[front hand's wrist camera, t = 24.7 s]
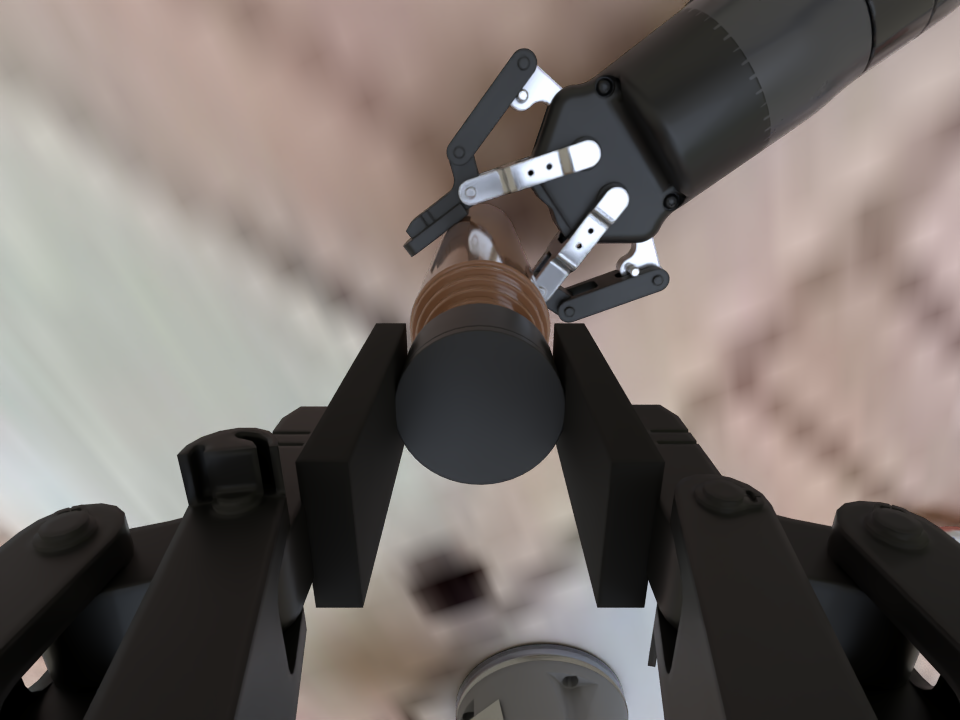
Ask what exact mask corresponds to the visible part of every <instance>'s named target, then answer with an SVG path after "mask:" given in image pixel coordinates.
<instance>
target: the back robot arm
mask: <svg viewBox="0 0 960 720" xmlns="http://www.w3.org/2000/svg"><path fill="white" fill-rule="evenodd" d="M958 6H960V0H690V1H689V2H688V3H687V4H686V6H685V7H684V8H683V9H682V10H680V11H679V12H678V13H676V14H675V15H674V16H673V17H671V18H670V19H669V20H667V21H666V22H665V23H664V24H662V25H661V26H660V27H658V28H657V29H656V30H655V31H653V32H652V33H651V34H649V35H648V36H647V37H646V38H644V39H643V40H642V41H640V42H639V43H638V44H636V45H635V46H634V47H633V48H631V49H630V50H629V51H627V52H626V53H625V54H624V55H622V56H621V57H620V58H618V59H617V60H616V61H615V62H613V63H612V64H611V65H609V66H608V67H607V68H606V69H604V70H603V71H602V72H600V73H599V74H598V75H597V76H595V77H594V78H593V79H591V80H590V81H588V82H586V83H583V84H578V85H570V86H567V87H565V88H562V87H561V86H560V85H558V84H557V83H556V82H555V81H554V80H553V79H552V78H551V77H550V76H549V75H548V74H546V73H545V72H544V71H543V70H542V69H541V68H540V67H539V66H538V65H537V59H536V56H535V54H534V53H533V52H532V51H531V50H529V49H526V48H523V49H519V50H517V51H516V52H515V53H514V54H513V55H512V57H511V58H510V60H509V61H508V62H507V64H506V65H505V67H504V68H503V69H502V71H501V72H500V74H499V75H498V76H497V78H496V79H495V81H494V82H493V83H492V85H491V86H490V88H489V89H488V90H487V92H486V93H485V95H484V96H483V97H482V99H481V100H480V102H479V103H478V104H477V106H476V107H475V109H474V110H473V111H472V113H471V114H470V116H469V117H468V118H467V120H466V121H465V123H464V124H463V125H462V127H461V128H460V130H459V131H458V132H457V134H456V135H455V137H454V138H453V139H452V141H451V142H450V144H449V145H448V147H447V157H448V159H449V162H450V165H451V169H452V172H453V176H454V185H453V188H452V189H451V190H450V191H449V192H448V193H447V194H446V195H444V196H443V197H442V198H440V199H439V200H438V201H436V202H435V203H434V204H433V205H431V206H430V207H429V208H427V209H426V210H425V211H424V212H422V213H421V214H420V215H418V216H417V217H416V218H414V220H413V221H412V222H411V223H410V225H409V227H408V229H407V230H406V232H407V233H408V234H409V236H410V237H411V238H410V239H409V240H408V241H407V242H406V243H405V244H404V248H405V249H406V250H407V252H408V253H409V254H410V255H411V257H412V256H414V255H416V254H417V253H418V252H420V251H421V250H422V249H424V248H425V247H426V246H428V245H429V244H430V243H432V242H433V241H434V240H436V239H437V238H438V237H439V236H441V235H442V234H443V233H445V232H446V231H447V230H449V229H450V228H451V227H452V226H454V225H455V224H457V223H458V222H459V221H461V220H462V219H463V218H465V217H466V216H467V215H469V208H471V207H472V206H473V205H475V204H478V203H481V202H484V201H487V200H490V199H493V198H496V197H499V196H502V195H505V194H509V193H514V192H517V191H520V190H523V189H526V188H529V187H531V188H532V190H533V191H534V193H535V194H536V196H537V197H538V198H540V199H541V200H542V201H543V202H544V203H545V204H547V205H548V207H549V210H550V213H551V216H552V219H553V221H554V223H555V224H556V226H557V227H558V229H559V232H558V233H557V234H556V236H555V237H554V238H553V240H552V241H551V242H550V244H549V245H548V248H547V250H546V252H545V253H544V254H543V256H542V257H541V258H540V260H539V261H538V262H537V264H536V265H535V266H534V268H533V269H532V272H533V274H534V276H535V279H536V281H537V283H538V286H539V288H540V291H541V293H542V295H543V298H544V300H545V303H546V305H547V308H548V309H550V310H551V311H553V312H554V313H556V314H557V315H559V317H560V319H561V320H562V321H564V322H568V323H569V322H574V321H577V320H579V319H582V318H585V317H588V316H591V315H594V314H597V313H599V312H602V311H605V310H608V309H611V308H614V307H616V306H619V305H622V304H625V303H628V302H631V301H633V300H636V299H639V298H642V297H645V296H648V295H650V294H653V293H656V292H659V291H661V290H663V289H665V288H666V287H667V285H668V283H669V275H668V273H667V272H666V271H665V270H663V268H662V267H661V266H660V263H659V259H658V255H657V251H656V248H655V244H654V240H653V237H654V236H655V235H656V233H657V232H658V231H659V229H660V227H661V225H662V224H663V222H664V221H665V219H666V218H667V217H668V216H669V215H670V214H671V213H672V212H673V211H675V210H676V209H678V208H679V207H681V206H682V205H684V204H685V203H687V202H688V201H690V200H691V199H693V198H694V197H695V196H697V195H698V194H700V193H701V192H703V191H704V190H706V189H707V188H708V187H710V186H711V185H713V184H714V183H716V182H717V181H719V180H720V179H722V178H723V177H724V176H726V175H727V174H729V173H730V172H732V171H733V170H735V169H736V168H737V167H739V166H740V165H742V164H743V163H745V162H746V161H748V160H749V159H751V158H752V157H754V156H755V155H756V154H758V153H759V152H761V151H762V150H764V149H765V148H766V147H768V146H769V145H771V144H772V143H774V142H775V141H777V140H778V139H780V138H781V137H783V136H784V135H785V134H787V133H788V132H790V131H791V130H793V129H794V128H796V127H797V126H798V125H800V124H801V123H803V122H804V121H806V120H807V119H808V118H810V117H811V116H812V115H814V114H815V113H816V112H818V111H819V110H820V109H821V108H822V107H824V106H825V105H826V104H827V103H828V102H829V101H830V100H832V99H833V98H834V97H835V96H836V95H837V94H838V93H839V92H841V91H842V90H843V89H844V88H845V87H846V86H848V85H849V84H850V83H852V82H853V81H854V80H856V79H857V78H859V77H860V76H861V75H863V74H864V73H866V72H867V71H869V70H870V69H872V68H873V67H874V66H876V65H877V64H879V63H880V62H882V61H883V60H885V59H886V58H888V57H889V56H890V55H892V54H893V53H895V52H896V51H898V50H899V49H901V48H902V47H903V46H905V45H906V44H908V43H909V42H911V41H912V40H913V39H915V38H916V37H918V36H919V35H921V34H922V33H923V32H925V31H926V30H928V29H929V28H931V27H932V26H934V25H935V24H936V23H938V22H939V21H941V20H942V19H943V18H945V17H946V16H947V15H949V14H950V13H951V12H953V11H954V10H955V9H956V8H957V7H958ZM535 103H544V104H546V105H547V109H546V112H545V115H544V118H543V121H542V124H541V127H540V130H539V133H538V136H537V139H536V142H535V145H534V148H533V151H532V154H531V156H528V157H526V158H523V159H520V160H517V161H514V162H511V163H508V164H505V165H502V166H500V167H497V168H495V169H492V170H489V171H486V172H483V173H480V174H479V172H478V168H477V165H476V161H475V158H474V154H475V152H476V151H477V150H478V148H479V147H480V146H481V144H482V143H483V141H484V140H485V139H486V137H487V136H488V135H489V133H490V132H491V131H492V129H493V128H494V127H495V125H496V124H497V122H498V121H499V120H500V118H501V117H502V116H503V114H504V113H505V112H506V110H507V109H508V107H509V106H510V107H511V108H512V109H514V110H515V111H518V112H522V111H525V110H527V109H528V108H530V107H531V106H532V105H533V104H535ZM596 243H632V246H631V249H630V251H629V252H628V253H627V254H626V255H624V256H622V257H621V258H620V259H619V260H618V262H617V264H616V269H617V270H614V271H611V272H608V273H606V274H603V275H600V276H597V277H595V278H592V279H589V280H586V281H583V282H581V283H578V284H575V285H572V286H570V287H567V288H563V287H562V286H560V285H561V284H562V282H563V281H564V280H565V279H566V277H567V276H568V275H569V274H570V273H571V272H573V271H574V270H575V269H576V268H577V267H578V266H579V265H580V264H581V262H582V261H583V260H584V258H585V257H586V256H587V255H588V253H589V252H590V251H591V249H592V248H593V247H594V246H595V244H596ZM578 244H580V246H579V247H577V245H578Z"/></svg>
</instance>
